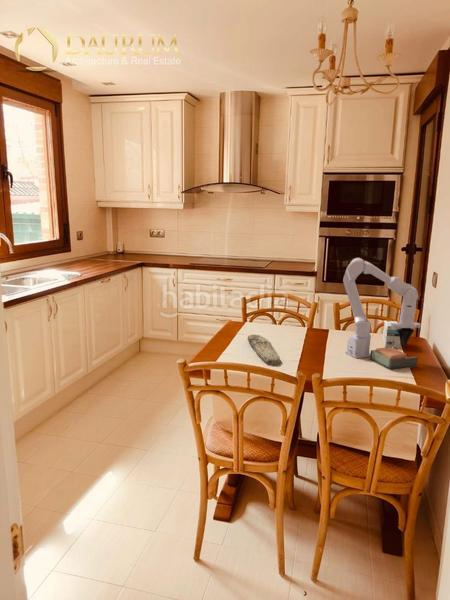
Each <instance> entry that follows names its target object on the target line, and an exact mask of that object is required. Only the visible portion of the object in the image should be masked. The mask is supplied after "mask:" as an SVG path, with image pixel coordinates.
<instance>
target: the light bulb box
mask: <svg viewBox="0 0 450 600" xmlns="http://www.w3.org/2000/svg"><path fill="white" fill-rule="evenodd" d="M383 321H384V322H383V332H382V343H383V344H384V348H386V347H395V348H398V349H399V348H400V344H401V342H400V336H399V333H398V331H397V329H396V330H392V329H391V325H393V324H397V323H399V321H394V320H393V321H392V320H383Z"/></svg>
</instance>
